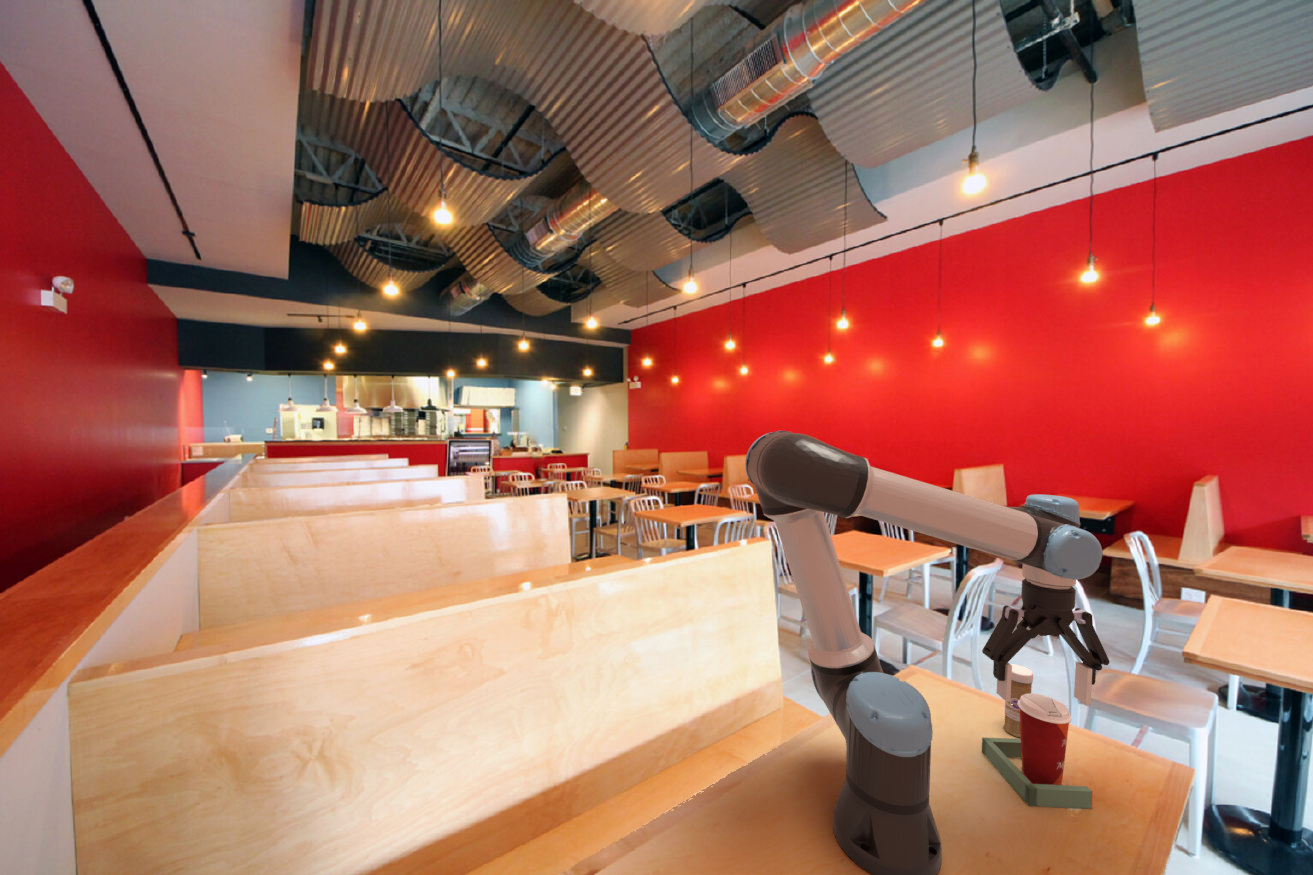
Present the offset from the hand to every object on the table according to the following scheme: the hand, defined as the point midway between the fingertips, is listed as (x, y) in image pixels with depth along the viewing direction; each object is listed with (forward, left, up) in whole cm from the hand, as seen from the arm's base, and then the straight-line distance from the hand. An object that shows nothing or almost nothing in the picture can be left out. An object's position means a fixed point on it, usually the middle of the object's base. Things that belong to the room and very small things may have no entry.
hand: (1042, 699), depth 89 cm
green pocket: (-1, 0, -15) cm, 15 cm away
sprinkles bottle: (+5, +14, -15) cm, 21 cm away
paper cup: (0, 0, -15) cm, 15 cm away
